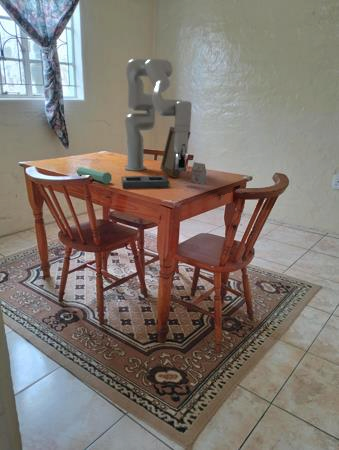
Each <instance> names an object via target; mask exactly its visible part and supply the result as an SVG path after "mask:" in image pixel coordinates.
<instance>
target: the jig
mask: <svg viewBox="0 0 339 450" xmlns="http://www.w3.org/2000/svg"><path fill="white" fill-rule="evenodd" d="M121 186H122V189H151V188H153V189H154V188H155V189H156V188H158V189H161V188H166V189H167V188H170V180H168V178H167V177H166V176H165V175H147V176H146V175H143V176H141V175H140V176H139V175H136V176H135V175H134V176H129V175H128V176H121Z"/></svg>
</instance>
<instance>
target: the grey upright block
mask: <svg viewBox="0 0 339 450" xmlns="http://www.w3.org/2000/svg"><path fill="white" fill-rule="evenodd" d="M192 164H193V165H192V167H191V173H190V174H191V175H190V183H194V184H198V185H204V184H206V183H207V169H206V163H202V162H195V161H194V162H193V163H192Z"/></svg>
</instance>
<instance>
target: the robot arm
mask: <svg viewBox="0 0 339 450" xmlns="http://www.w3.org/2000/svg"><path fill="white" fill-rule="evenodd" d="M173 69H174V68H173V65H172V63H171V61H169V60H168V59H162V58H161V59H160V58H150V59H147V58H132V59H130V60H129V61H128V62H127V63H126V68H125V72H126V73H125V74H126V78H127V85H128V86H127V106H128V109H129V110H131V111H135V112H136V113H135V112H133V113H129V114H128V113H127V115H126V116H125V118H124V126H125V130H126V132H125V133H126V155H127V156H126V161H127V163H126V164H127V165H126V166H124V170H127V171H135V172H138V171H145V170H147V166H145V165H144V137H143V135H142V133H141V132H142V131H151V130H153V129H154V127H155V124H156V112H157V114H158V115H160V116H162V117H174V125H173V126H174V131H175V132H176V133H175V142H174V151H175V152H177V154H179V162H178V167H179V168H185V155H186V156H187V153H188V148H189V146H188V145H189V140H188V132H191V121H192V120H191V119H192V107H193V106H192V102H191V101H188V100H182V99H181V100H180V99H171V98H170V99H166V98H165V99H164V97H163V95H162V93H164V92H166V91H167V90H168V89H169V87H170V85H171V80H170V79H169V78H170V77H171V75H172V74H173ZM141 77H142V78H143V77H145V78H146V77H147V78H148V79H149V81H150V83H151V85H152V87H153V90H152V93H149V92H148V93H147V92H144V90H145V89H144V88H145V86H144V85H145V84H144V82H143V80H142V78H141ZM138 112H139V113H138ZM140 112H141V113H140ZM142 112H143V113H142ZM181 154H182V155H181Z"/></svg>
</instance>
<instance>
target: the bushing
mask: <svg viewBox="0 0 339 450" xmlns="http://www.w3.org/2000/svg"><path fill="white" fill-rule="evenodd" d="M181 155H182V154H181ZM178 162H179V154H176V161H175V171H178V172H180V173H182V172H184V171H185V168H179V167H178ZM186 162H187V154H186V155H185V164H186V165H187V163H186ZM184 173H185V172H184Z"/></svg>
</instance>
